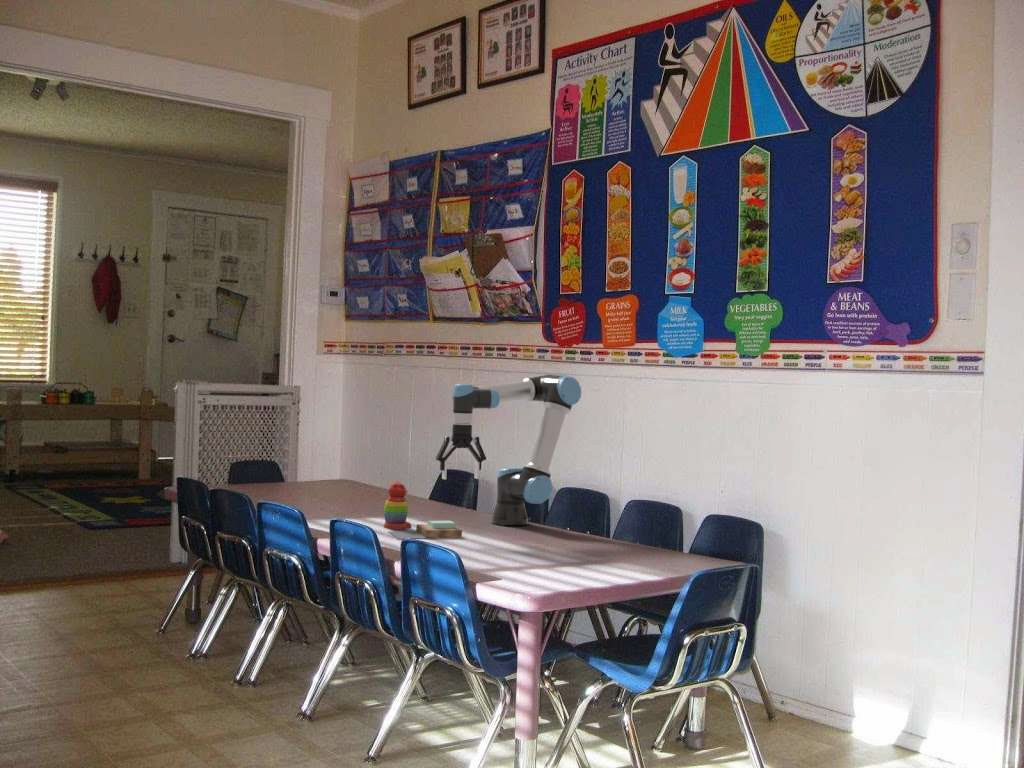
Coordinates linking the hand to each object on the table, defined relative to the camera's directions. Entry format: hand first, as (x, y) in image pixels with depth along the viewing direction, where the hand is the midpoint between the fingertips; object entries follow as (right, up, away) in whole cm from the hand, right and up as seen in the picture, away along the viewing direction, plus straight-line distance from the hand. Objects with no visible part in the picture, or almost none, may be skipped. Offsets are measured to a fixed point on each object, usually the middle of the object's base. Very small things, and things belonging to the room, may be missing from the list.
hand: (460, 478), depth 426 cm
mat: (-20, -21, -9) cm, 30 cm away
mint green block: (-7, -18, -4) cm, 20 cm away
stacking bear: (-26, -20, +9) cm, 34 cm away
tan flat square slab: (-8, -21, -4) cm, 23 cm away
